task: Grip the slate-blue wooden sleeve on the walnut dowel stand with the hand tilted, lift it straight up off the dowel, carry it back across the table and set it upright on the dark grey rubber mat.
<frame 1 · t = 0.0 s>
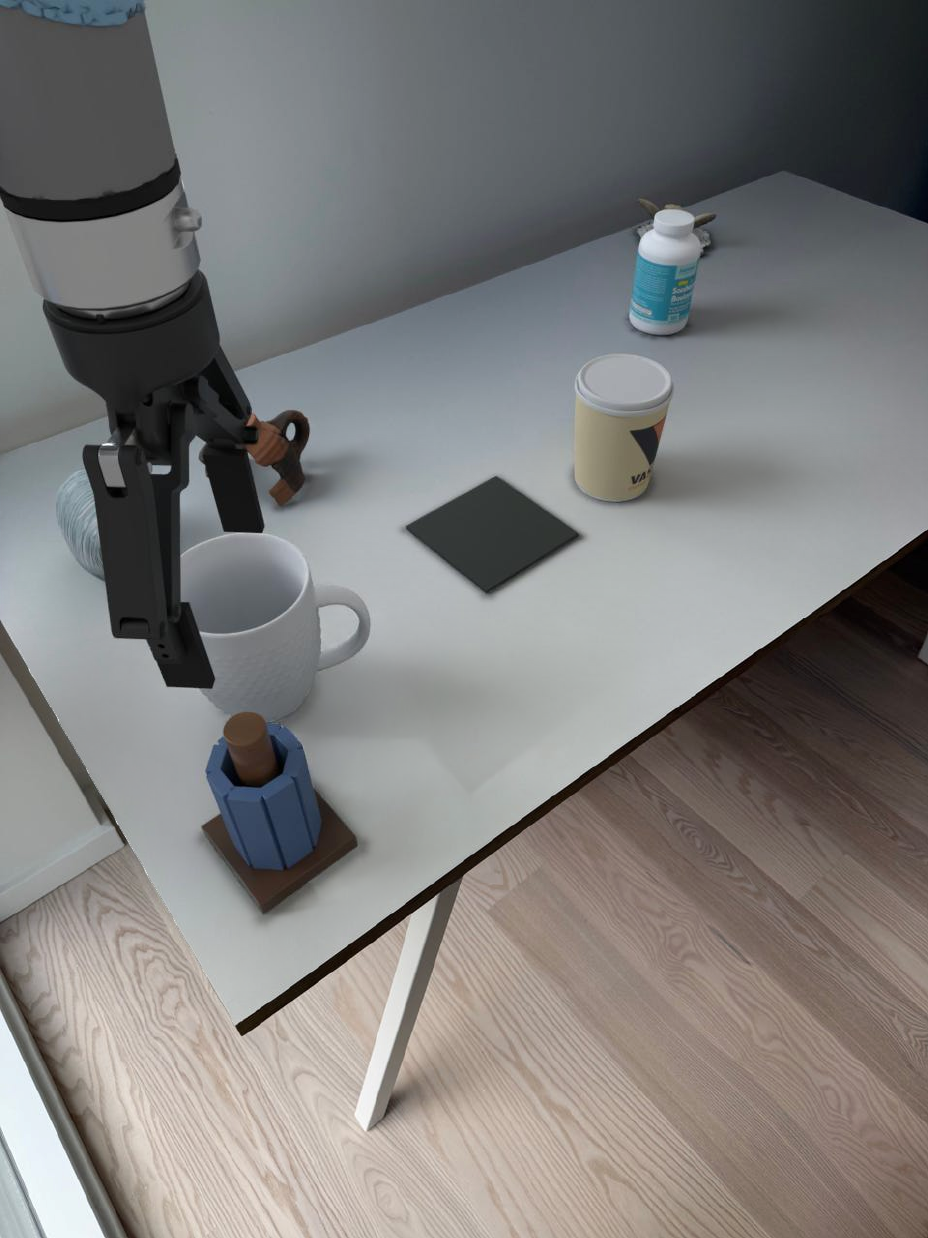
hand: (220, 600, 57), 18 cm above the table, tool pointing down, fingers open, 13 cm apart
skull: (674, 242, 131), on the table
streaked grey ellipsoid: (130, 560, 86), on the table
dowel stand: (281, 841, 65), on the table
cream lidded canister: (611, 480, 93), on the table
mug: (279, 691, 75), on the table
brown looped piece: (267, 479, 94), on the table
pill bottle: (657, 324, 115), on the table
sleeve: (277, 831, 64), point 1 cm above the table, touching dowel stand
mat: (491, 532, 88), on the table
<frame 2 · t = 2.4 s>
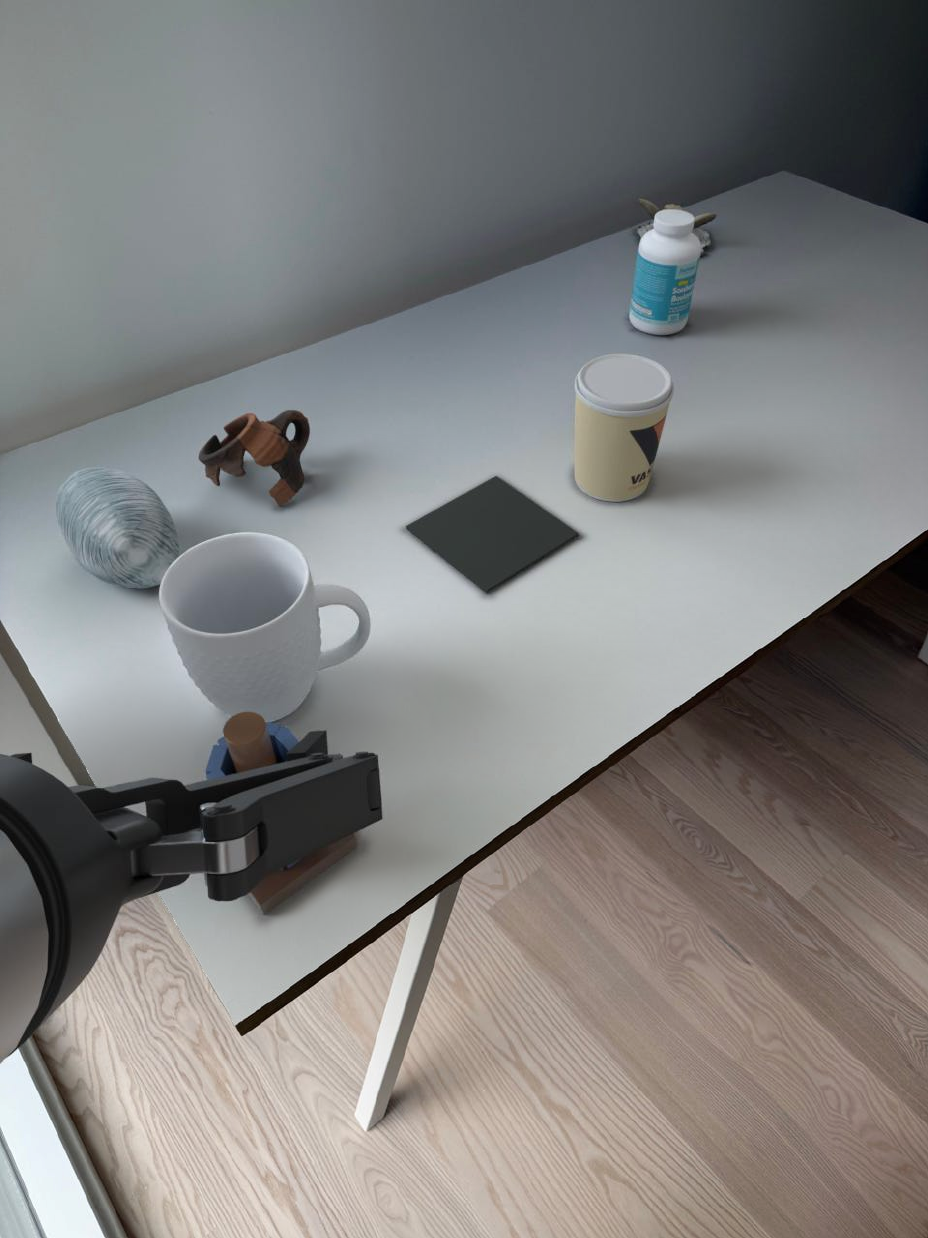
hand: (173, 770, 41), 23 cm above the table, tool tilted 45°, fingers open, 13 cm apart
nothing on the table moved.
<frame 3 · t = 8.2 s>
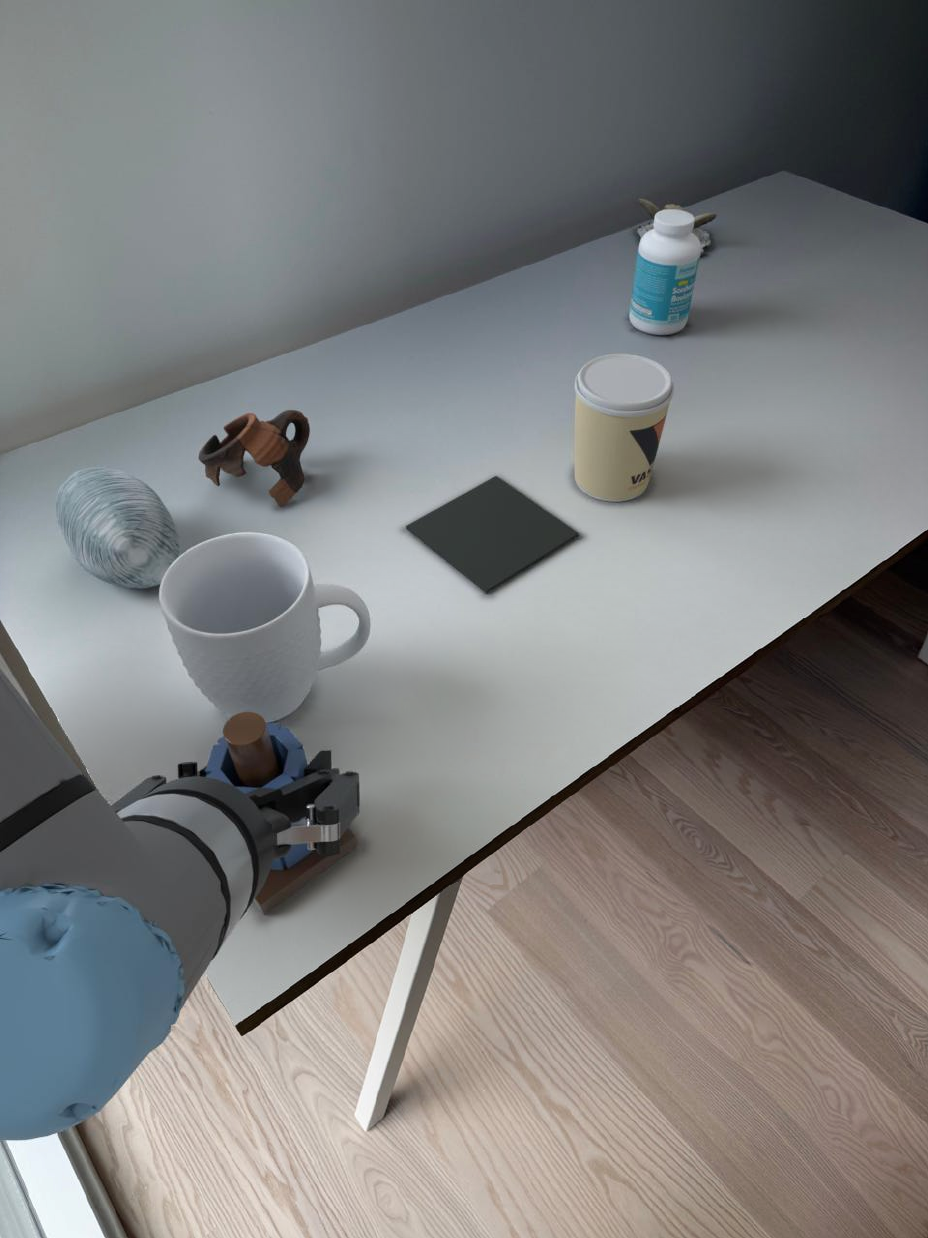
hand: (278, 769, 64), 4 cm above the table, tool tilted 45°, fingers closed on sleeve, 6 cm apart
sleeve: (277, 831, 64), point 2 cm above the table, touching dowel stand, gripper
everything else where it was.
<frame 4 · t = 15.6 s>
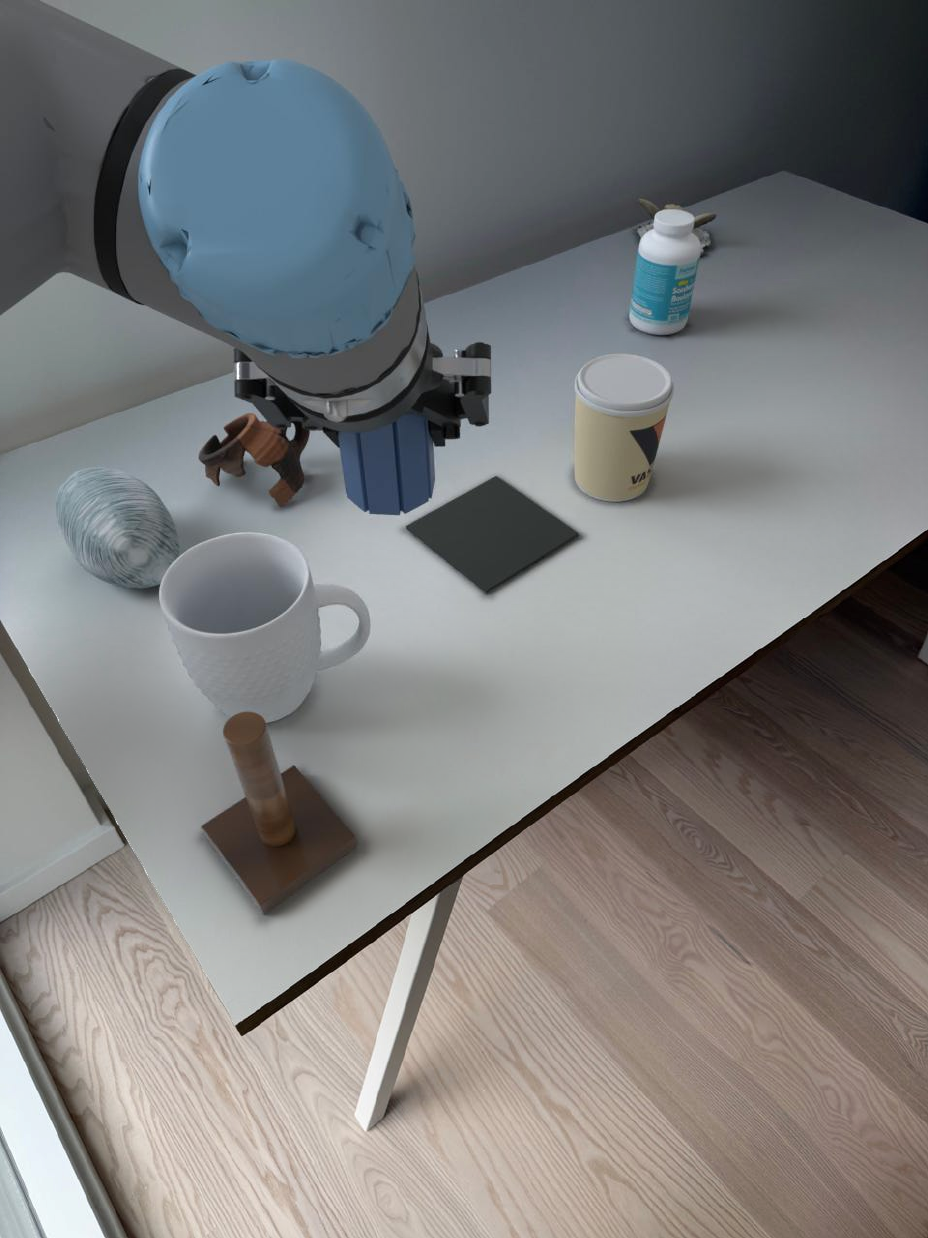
hand: (391, 427, 63), 22 cm above the table, tool tilted 45°, fingers closed on sleeve, 6 cm apart
sleeve: (390, 487, 62), point 19 cm above the table, touching gripper
everything else where it was.
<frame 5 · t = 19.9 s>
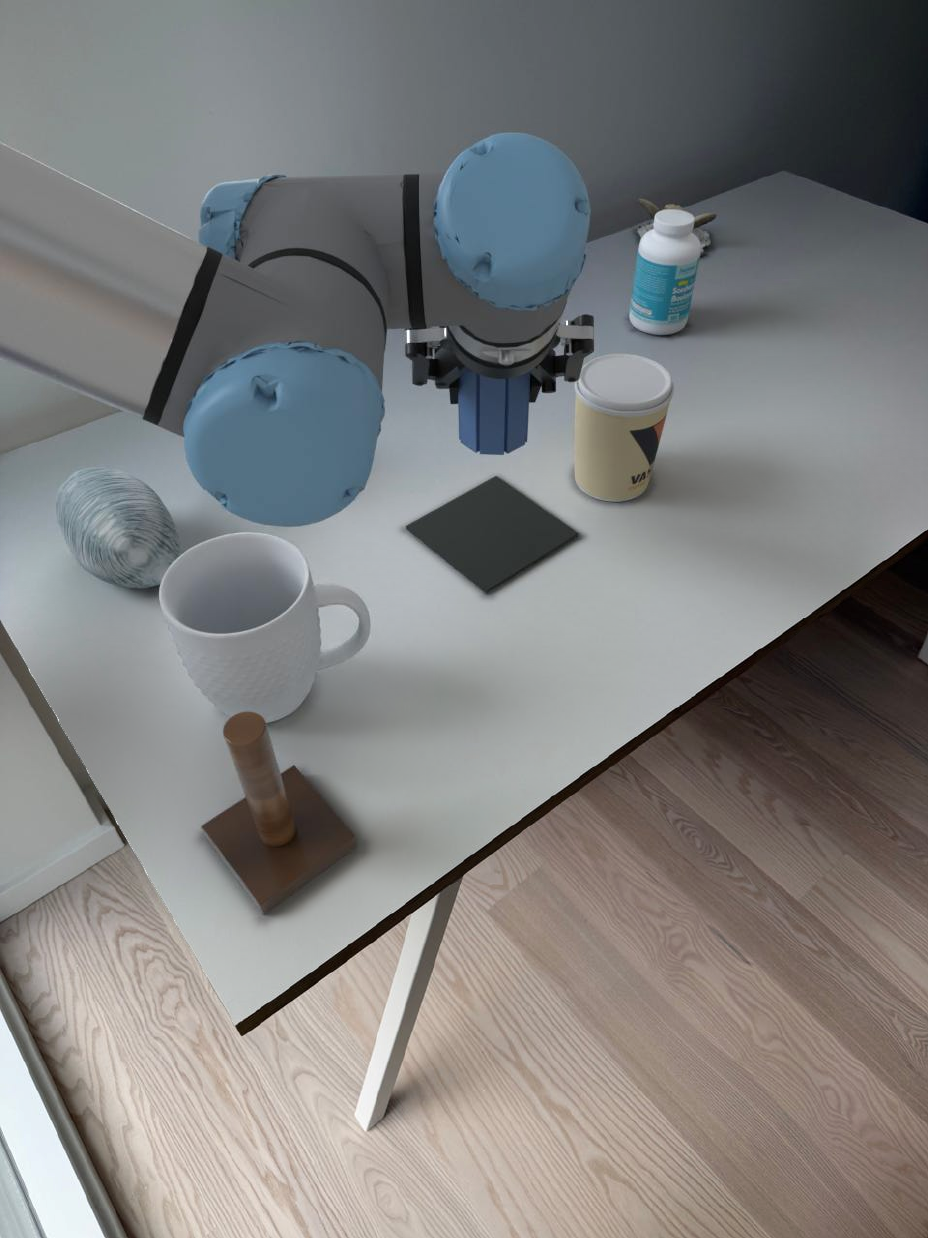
hand: (492, 387, 80), 14 cm above the table, tool tilted 45°, fingers closed on sleeve, 6 cm apart
sleeve: (493, 434, 79), point 12 cm above the table, touching gripper
everything else where it was.
when the fingers open (3 cm above the table, at t = 23.3 s): sleeve stays where it is, resting on mat.
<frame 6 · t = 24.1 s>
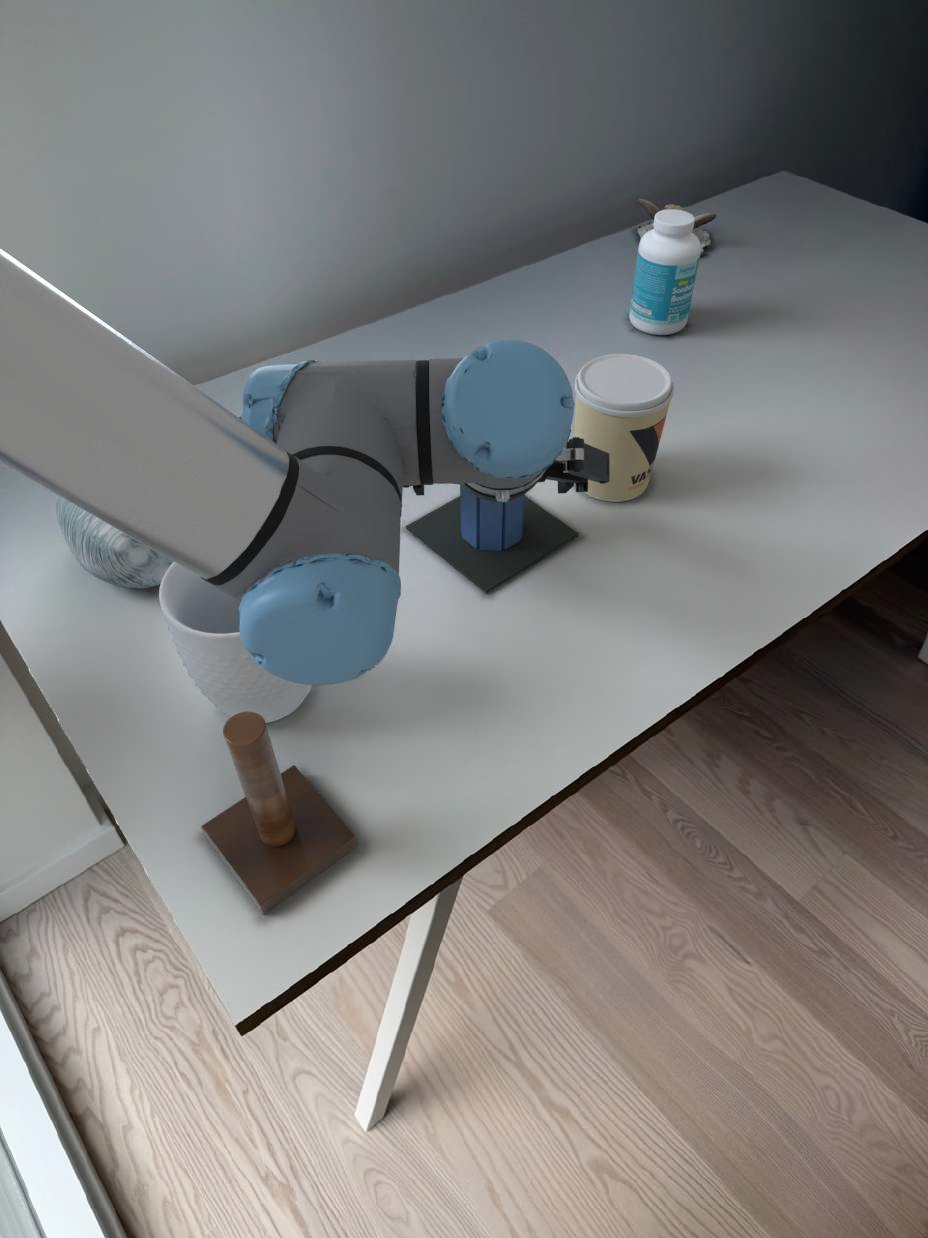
hand: (490, 480, 86), 5 cm above the table, tool tilted 45°, fingers open, 13 cm apart
sleeve: (492, 529, 87), resting on mat
everything else where it was.
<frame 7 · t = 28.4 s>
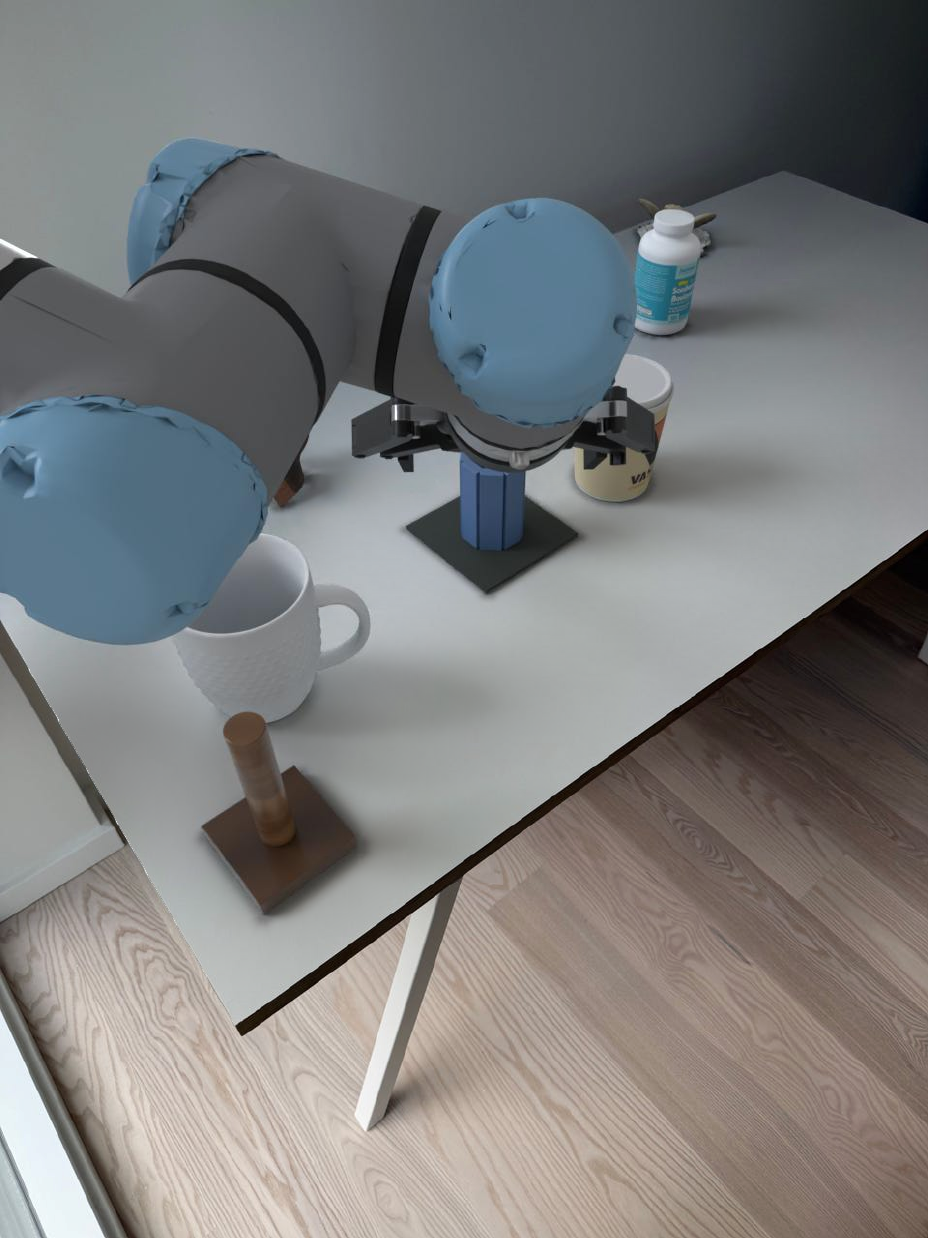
hand: (498, 452, 67), 18 cm above the table, tool tilted 45°, fingers open, 13 cm apart
nothing on the table moved.
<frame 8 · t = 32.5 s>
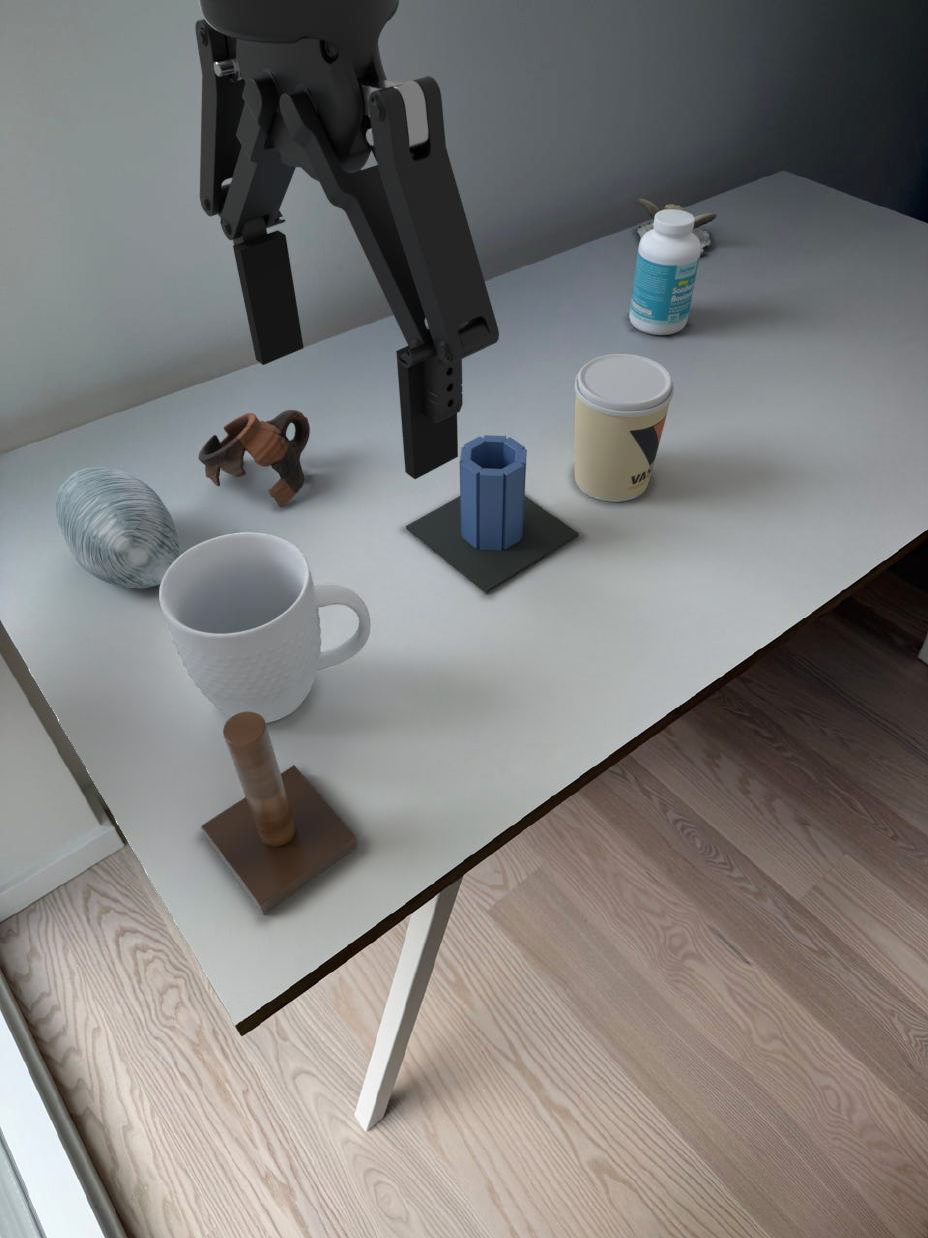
hand: (350, 405, 47), 32 cm above the table, tool pointing down, fingers open, 13 cm apart
nothing on the table moved.
at the end: sleeve inside the target area on the mat (0.1 cm from its centre), point 0.4 cm above the mat's base; sleeve tilted 0°; the gripper is holding nothing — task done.
